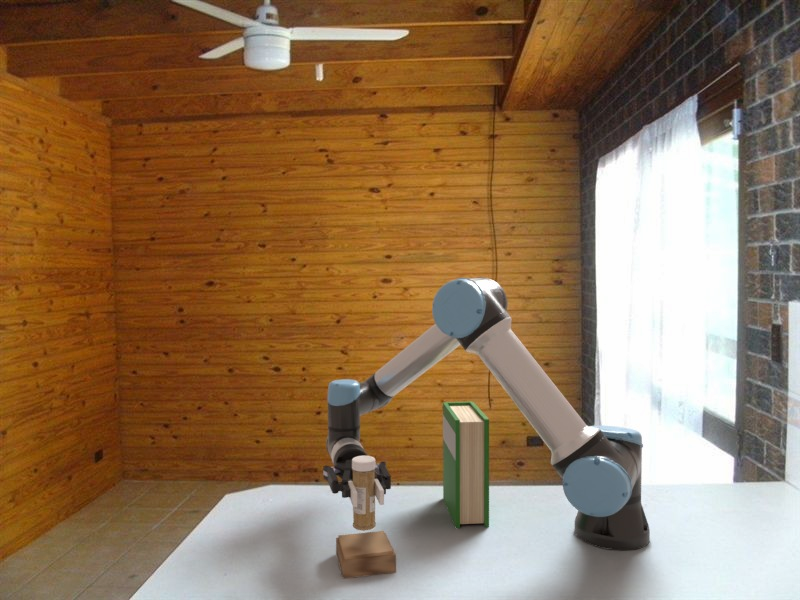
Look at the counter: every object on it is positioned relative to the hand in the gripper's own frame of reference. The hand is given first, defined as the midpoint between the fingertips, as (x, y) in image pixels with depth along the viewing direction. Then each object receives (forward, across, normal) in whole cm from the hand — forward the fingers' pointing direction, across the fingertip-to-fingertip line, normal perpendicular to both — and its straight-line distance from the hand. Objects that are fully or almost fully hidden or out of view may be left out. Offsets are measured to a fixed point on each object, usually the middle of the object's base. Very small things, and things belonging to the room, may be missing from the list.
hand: (368, 498), depth 117 cm
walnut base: (-5, 0, -15) cm, 16 cm away
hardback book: (-25, -27, -15) cm, 39 cm away
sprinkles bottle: (-5, 0, -8) cm, 9 cm away
